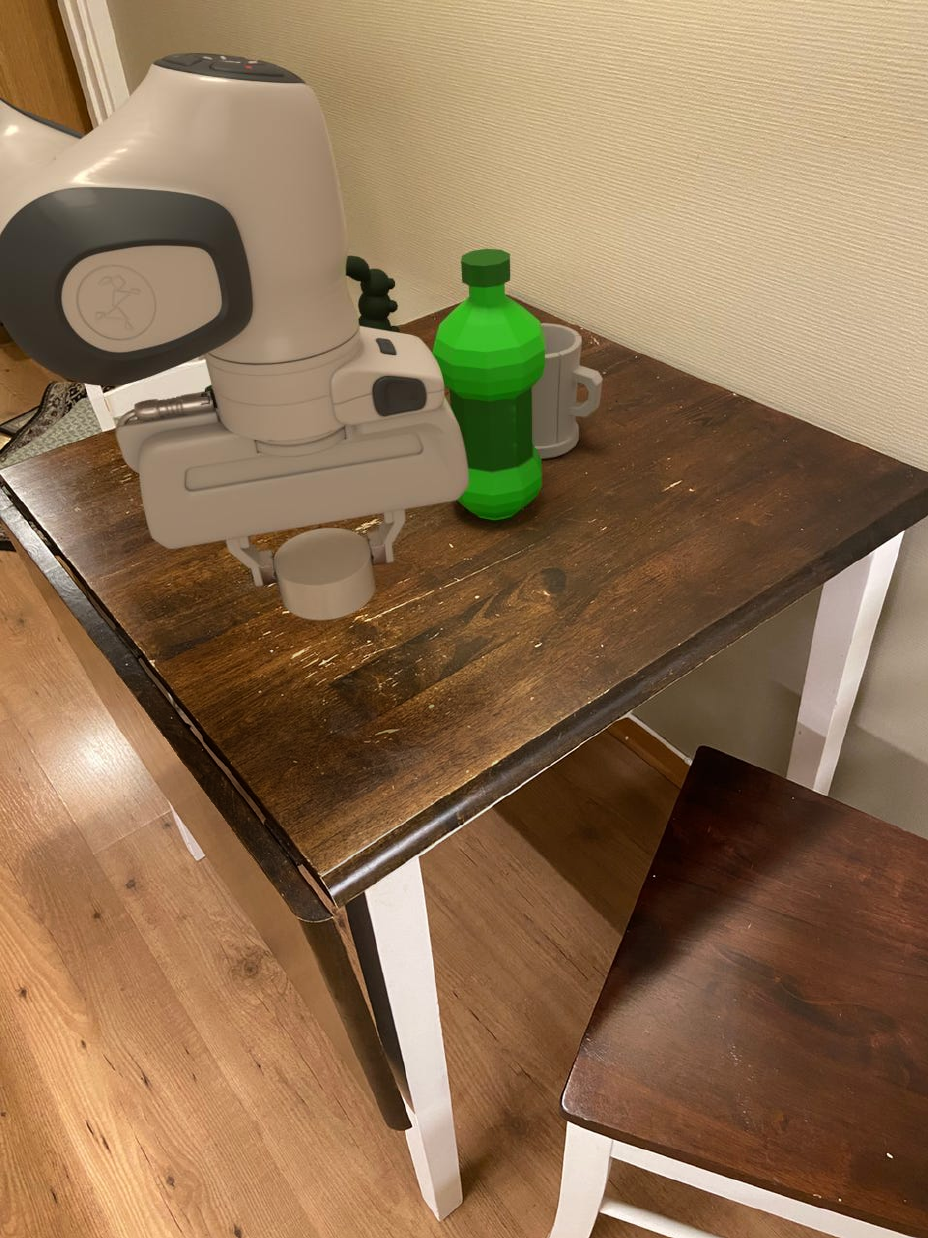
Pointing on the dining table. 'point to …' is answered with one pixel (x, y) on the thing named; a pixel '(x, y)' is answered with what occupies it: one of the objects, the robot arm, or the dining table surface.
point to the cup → (561, 393)
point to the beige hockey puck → (325, 573)
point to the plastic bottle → (493, 386)
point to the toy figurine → (370, 296)
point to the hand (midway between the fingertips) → (325, 569)
